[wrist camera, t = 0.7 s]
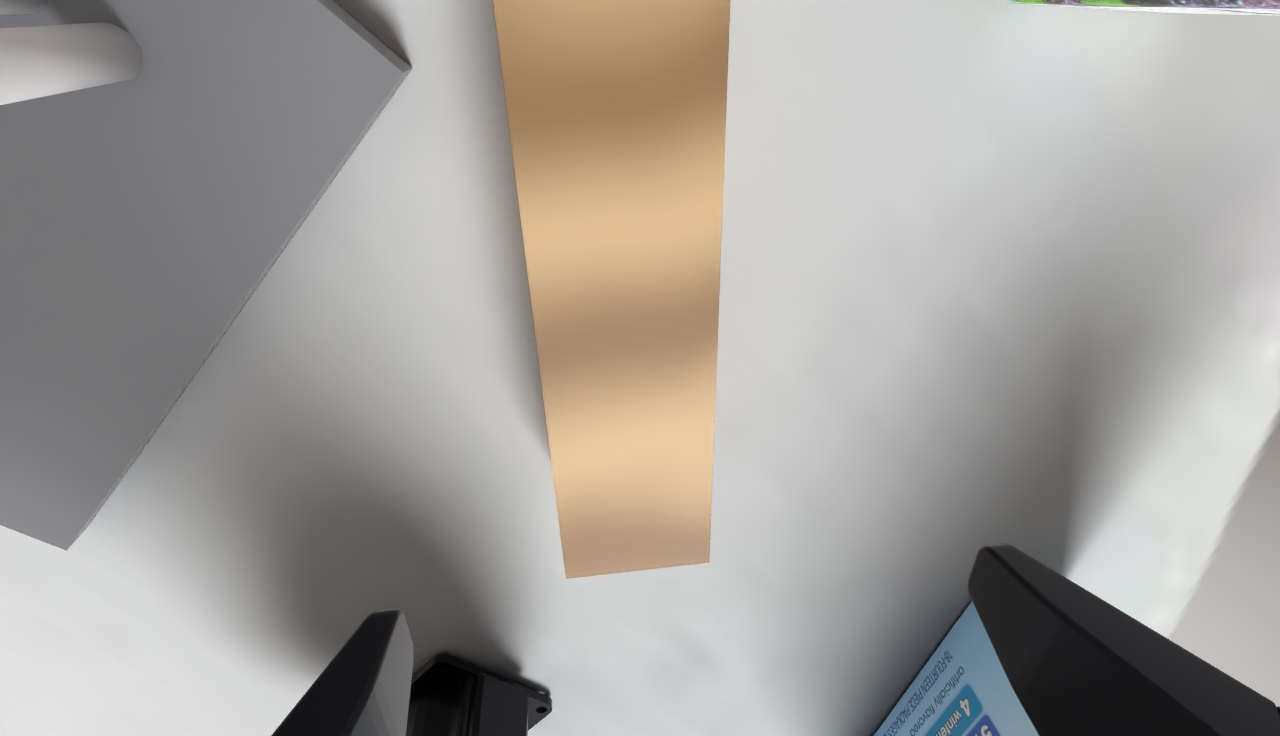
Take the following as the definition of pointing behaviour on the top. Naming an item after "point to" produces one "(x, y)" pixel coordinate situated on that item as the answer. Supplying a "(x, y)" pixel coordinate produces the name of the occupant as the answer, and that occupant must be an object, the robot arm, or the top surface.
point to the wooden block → (623, 261)
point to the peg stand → (149, 211)
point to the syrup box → (1172, 5)
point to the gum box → (960, 691)
